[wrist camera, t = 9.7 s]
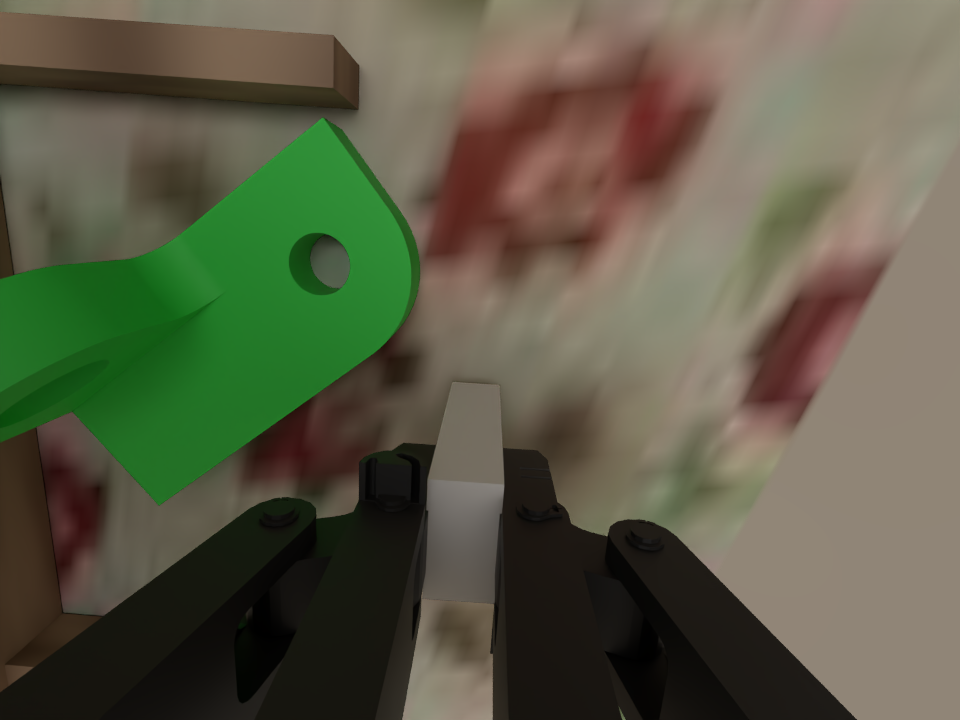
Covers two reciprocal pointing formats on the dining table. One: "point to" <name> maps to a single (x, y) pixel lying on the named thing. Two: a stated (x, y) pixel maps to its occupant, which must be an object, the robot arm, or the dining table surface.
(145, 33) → the bay
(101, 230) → the dining table surface
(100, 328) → the mechanical part
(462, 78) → the dining table surface
